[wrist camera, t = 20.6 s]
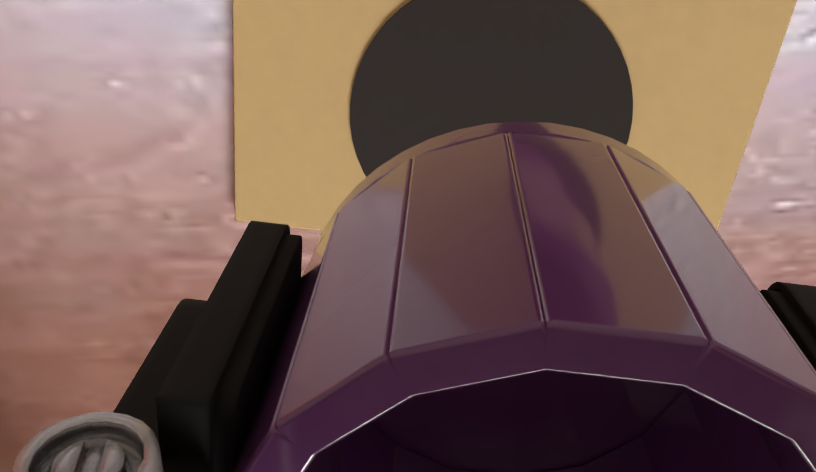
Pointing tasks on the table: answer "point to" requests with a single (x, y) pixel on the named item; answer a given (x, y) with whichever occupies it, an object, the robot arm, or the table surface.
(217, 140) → the table surface
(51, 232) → the table surface
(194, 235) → the table surface
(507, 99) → the placemat
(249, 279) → the robot arm
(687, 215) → the plum dish
